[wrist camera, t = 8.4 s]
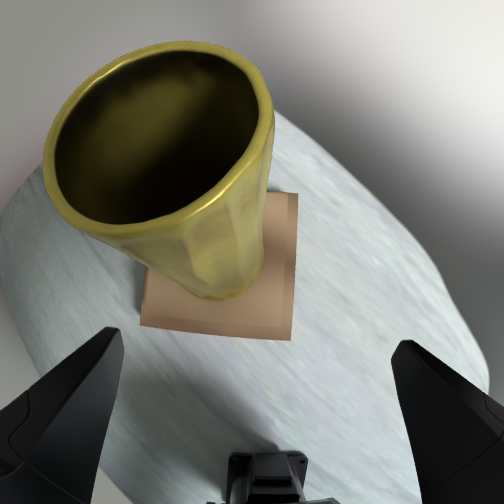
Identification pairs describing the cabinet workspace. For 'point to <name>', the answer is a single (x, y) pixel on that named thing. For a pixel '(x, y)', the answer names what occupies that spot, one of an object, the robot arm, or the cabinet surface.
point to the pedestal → (246, 304)
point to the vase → (169, 163)
